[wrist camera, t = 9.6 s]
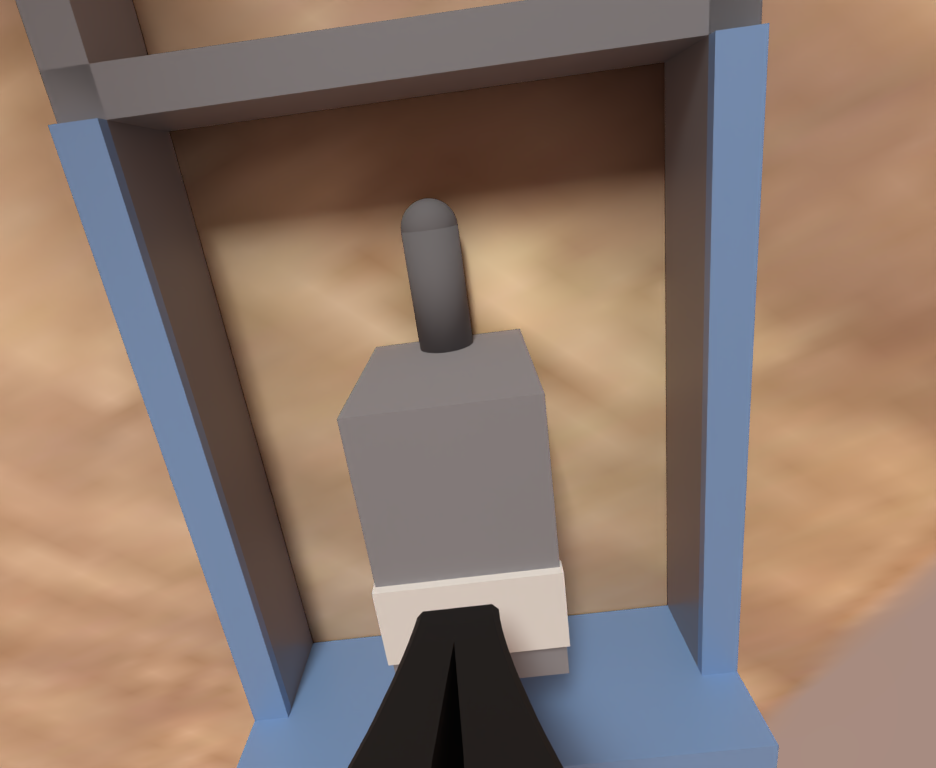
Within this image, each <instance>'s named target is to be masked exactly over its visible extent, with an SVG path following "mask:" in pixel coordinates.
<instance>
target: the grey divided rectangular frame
mask: <svg viewBox="0 0 936 768" xmlns="http://www.w3.org/2000/svg"><path fill="white" fill-rule="evenodd" d="M15 1H16V4H17V7H18V10H19V13H20V16H21V18H22V21H23V24H24V27H25V30H26V33H27V36H28V39H29V42H30V45H31V48H32V51H33V54H34V56H35V59H36V62H37V65H38V68H39V71H40V74H41V77H42V80H43V83H44V86H45V89H46V92H47V94H48V97H49V100H50V103H51V106H52V109H53V112H54V115H55V118H56V121H57V124H52V125H48V127H49V130H50V132H51V135H52V138H53V141H54V144H55V147H56V150H57V153H58V155H59V158H60V161H61V164H62V167H63V170H64V173H65V176H66V178H67V181H68V184H69V187H70V190H71V193H72V196H73V199H74V201H75V204H76V207H77V210H78V213H79V216H80V219H81V222H82V225H83V227H84V230H85V233H86V236H87V239H88V242H89V245H90V248H91V250H92V253H93V256H94V259H95V262H96V265H97V268H98V271H99V273H100V276H101V279H102V282H103V285H104V288H105V291H106V294H107V296H108V299H109V302H110V305H111V308H112V311H113V314H114V317H115V319H116V322H117V325H118V328H119V331H120V334H121V337H122V340H123V343H124V345H125V348H126V351H127V354H128V357H129V360H130V363H131V366H132V368H133V371H134V374H135V377H136V380H137V383H138V386H139V389H140V391H141V394H142V397H143V400H144V403H145V406H146V409H147V412H148V414H149V417H150V420H151V423H152V426H153V429H154V432H155V435H156V437H157V440H158V443H159V446H160V449H161V452H162V455H163V458H164V460H165V463H166V466H167V469H168V472H169V475H170V478H171V481H172V484H173V486H174V489H175V492H176V495H177V498H178V501H179V504H180V507H181V509H182V512H183V515H184V518H185V521H186V524H187V527H188V530H189V532H190V535H191V538H192V541H193V544H194V547H195V550H196V553H197V555H198V558H199V561H200V564H201V567H202V570H203V573H204V576H205V578H206V581H207V584H208V587H209V590H210V593H211V596H212V599H213V601H214V604H215V607H216V610H217V613H218V616H219V619H220V622H221V625H222V627H223V630H224V633H225V636H226V639H227V642H228V645H229V648H230V650H231V653H232V656H233V659H234V662H235V665H236V668H237V671H238V673H239V676H240V679H241V682H242V685H243V688H244V691H245V694H246V696H247V699H248V702H249V705H250V708H251V711H252V714H253V717H254V719H255V722H254V725H253V727H252V730H251V732H250V735H249V737H248V740H247V743H246V745H245V748H244V750H243V753H242V755H241V758H240V760H239V763H238V766H237V768H348V766H349V764H350V762H351V760H352V759H353V757H354V755H355V753H356V751H357V749H358V748H359V746H360V744H361V742H362V740H363V739H364V737H365V735H366V733H367V731H368V729H369V727H370V725H371V723H372V721H373V719H374V717H375V715H376V713H377V711H378V709H379V707H380V705H381V703H382V701H383V698H384V696H385V694H386V692H387V690H388V688H389V686H390V684H391V682H392V680H393V677H394V675H395V670H394V666H393V665H389V666H388V661H387V657H386V653H385V649H384V644H383V640H382V636H374V637H364V638H355V639H346V640H336V641H327V642H317V643H313V641H312V638H311V634H310V631H309V627H308V623H307V620H306V616H305V613H304V609H303V606H302V602H301V599H300V595H299V591H298V588H297V584H296V581H295V577H294V574H293V570H292V567H291V563H290V559H289V556H288V552H287V549H286V545H285V542H284V538H283V535H282V531H281V527H280V524H279V520H278V517H277V513H276V510H275V506H274V503H273V499H272V496H271V492H270V488H269V485H268V481H267V478H266V474H265V471H264V467H263V464H262V460H261V456H260V453H259V449H258V446H257V442H256V439H255V435H254V432H253V428H252V424H251V421H250V417H249V414H248V410H247V407H246V403H245V400H244V396H243V392H242V389H241V385H240V382H239V378H238V375H237V371H236V368H235V364H234V360H233V357H232V353H231V350H230V346H229V343H228V339H227V336H226V332H225V328H224V325H223V321H222V318H221V314H220V311H219V307H218V304H217V300H216V296H215V293H214V289H213V286H212V282H211V279H210V275H209V272H208V268H207V264H206V261H205V257H204V254H203V250H202V247H201V243H200V240H199V236H198V232H197V229H196V225H195V222H194V218H193V215H192V211H191V208H190V204H189V200H188V197H187V193H186V190H185V186H184V183H183V179H182V176H181V172H180V168H179V165H178V161H177V158H176V154H175V151H174V147H173V144H172V140H171V136H170V133H169V132H170V131H177V130H184V129H192V128H199V127H206V126H213V125H220V124H227V123H234V122H242V121H249V120H256V119H263V118H270V117H277V116H285V115H292V114H299V113H306V112H313V111H320V110H327V109H335V108H342V107H349V106H356V105H363V104H370V103H377V102H385V101H392V100H399V99H406V98H413V97H420V96H428V95H435V94H442V93H449V92H456V91H463V90H470V89H478V88H485V87H492V86H499V85H506V84H513V83H520V82H528V81H535V80H542V79H549V78H556V77H563V76H570V75H578V74H585V73H592V72H599V71H606V70H613V69H621V68H628V67H635V66H642V65H649V64H656V63H663V62H664V67H665V250H666V432H667V605H666V606H656V607H647V608H638V609H628V610H619V611H609V612H600V613H590V614H581V615H572V616H568V627H569V639H570V646H569V647H567V652H568V664H569V673H566V674H556V675H546V676H537V677H527V678H520V680H521V683H522V685H523V687H524V689H525V692H526V694H527V696H528V698H529V700H530V703H531V705H532V707H533V709H534V711H535V714H536V716H537V718H538V720H539V722H540V724H541V726H542V728H543V730H544V732H545V734H546V736H547V738H548V740H549V742H550V743H551V745H552V747H553V749H554V751H555V753H556V755H557V757H558V759H559V760H560V762H561V764H562V766H563V768H777V759H778V748H779V745H778V743H777V742H776V740H775V738H774V736H773V735H772V733H771V731H770V729H769V727H768V726H767V724H766V722H765V720H764V719H763V717H762V715H761V713H760V712H759V710H758V708H757V706H756V704H755V703H754V701H753V699H752V697H751V696H750V694H749V692H748V690H747V688H746V687H745V685H744V683H743V681H742V680H741V678H740V676H739V674H738V673H737V663H738V643H739V623H740V603H741V583H742V563H743V543H744V522H745V502H746V482H747V462H748V442H749V422H750V402H751V381H752V361H753V341H754V321H755V301H756V281H757V261H758V240H759V220H760V200H761V180H762V160H763V140H764V120H765V99H766V79H767V59H768V39H769V23H767V24H761V20H762V0H525V1H518V2H511V3H504V4H497V5H490V6H483V7H476V8H470V9H463V10H456V11H449V12H442V13H435V14H428V15H421V16H414V17H407V18H401V19H394V20H387V21H380V22H373V23H366V24H359V25H352V26H345V27H338V28H332V29H325V30H318V31H311V32H304V33H297V34H290V35H283V36H276V37H269V38H263V39H256V40H249V41H242V42H235V43H228V44H221V45H214V46H207V47H201V48H194V49H187V50H180V51H173V52H166V53H159V54H152V55H147V51H146V48H145V44H144V41H143V37H142V33H141V30H140V26H139V23H138V19H137V16H136V12H135V9H134V5H133V1H132V0H15Z"/></svg>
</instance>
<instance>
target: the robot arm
mask: <svg viewBox="0 0 936 768" xmlns="http://www.w3.org/2000/svg"><path fill="white" fill-rule="evenodd" d="M348 768H563V766H562V764H561V762H560V760H559V759H558V757H557V755H556V753H555V751H554V749H553V747H552V745H551V743H550V742H549V740H548V738H547V736H546V734H545V732H544V730H543V728H542V726H541V724H540V722H539V720H538V718H537V716H536V714H535V711H534V709H533V707H532V705H531V703H530V700H529V698H528V696H527V694H526V692H525V689H524V687H523V685H522V683H521V680H520V678H519V676H518V673H517V671H516V668H515V666H514V663H513V660H512V657H511V655H510V652H509V649H508V646H507V643H506V640H505V637H504V633H503V630H502V625H501V621H500V614H499V609H498V608H497V607H495V606H494V605H493V604H487V605H478V606H469V607H460V608H450V609H441V610H432V611H423V612H422V613H421V614H420V615H419V616H418V617H417V620H416V623H415V626H414V629H413V631H412V634H411V637H410V639H409V642H408V644H407V647H406V649H405V652H404V654H403V657H402V659H401V661H400V664H399V666H398V668H397V671H396V673H395V675H394V677H393V680H392V682H391V684H390V686H389V688H388V690H387V692H386V694H385V696H384V698H383V701H382V703H381V705H380V707H379V709H378V711H377V713H376V715H375V717H374V719H373V721H372V723H371V725H370V727H369V729H368V731H367V733H366V735H365V737H364V739H363V740H362V742H361V744H360V746H359V748H358V749H357V751H356V753H355V755H354V757H353V759H352V760H351V762H350V764H349V766H348Z"/></svg>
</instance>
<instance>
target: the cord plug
mask: <svg viewBox="0 0 936 768" xmlns="http://www.w3.org/2000/svg"><path fill="white" fill-rule="evenodd" d="M401 234H402V241H403V247H404V253H405V259H406V265H407V271H408V277H409V283H410V289H411V295H412V301H413V307H414V313H415V319H416V325H417V331H418V337H419V342H413V343H405V344H397V345H389V346H382V347H376V348H375V350H374V352H373V354H372V356H371V357H370V359H369V361H368V363H367V365H366V367H365V368H364V370H363V372H362V374H361V376H360V378H359V380H358V381H357V383H356V385H355V387H354V389H353V391H352V392H351V394H350V396H349V398H348V400H347V402H346V403H345V405H344V407H343V409H342V411H341V413H340V414H339V416H338V418H337V421H338V426H339V430H340V435H341V439H342V443H343V448H344V452H345V456H346V461H347V465H348V469H349V474H350V478H351V483H352V487H353V491H354V496H355V500H356V504H357V509H358V513H359V517H360V522H361V526H362V531H363V535H364V539H365V544H366V548H367V552H368V557H369V561H370V565H371V570H372V574H373V579H374V587H373V591H372V597H373V601H374V606H375V610H376V614H377V619H378V623H379V627H380V631H381V636H382V640H383V644H384V649H385V653H386V657H387V661H388V666H389V665H393V666H394V670H395V673H396V671H397V668H398V666H399V664H400V661H401V659H402V657H403V654H404V652H405V649H406V647H407V644H408V642H409V639H410V637H411V634H412V631H413V629H414V626H415V623H416V620H417V617H418V616H419V615H420V614H421V613H422V612H423V611H432V610H441V609H450V608H460V607H469V606H478V605H487V604H493V605H494V606H495V607H497V608H498V609H499V614H500V621H501V625H502V630H503V633H504V637H505V640H506V643H507V646H508V649H509V652H510V655H511V657H512V660H513V663H514V666H515V668H516V671H517V673H518V676H519V678H527V677H537V676H546V675H556V674H566V673H569V664H568V652H567V647H569V646H570V639H569V627H568V615H567V604H566V592H565V581H564V572H563V568H562V564H561V561H559V551H558V540H557V529H556V517H555V506H554V495H553V484H552V472H551V461H550V450H549V439H548V427H547V416H546V405H545V394H544V391H543V388H542V386H541V383H540V381H539V378H538V375H537V373H536V370H535V367H534V365H533V362H532V360H531V357H530V354H529V352H528V349H527V347H526V344H525V341H524V339H523V336H522V334H521V331H520V329H515V330H507V331H499V332H491V333H483V334H476V335H472V330H471V322H470V315H469V307H468V299H467V292H466V284H465V277H464V269H463V261H462V254H461V246H460V238H459V231H458V224H457V219H456V217H455V214H454V213H453V211H452V210H451V208H450V207H449V206H448V205H447V204H445V203H443V202H442V201H440V200H437V199H432V198H425V199H421V200H418V201H416V202H414V203H413V204H411V205H410V206H409V207H408V208H407V210H406V211H405V213H404V215H403V218H402V221H401Z"/></svg>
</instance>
